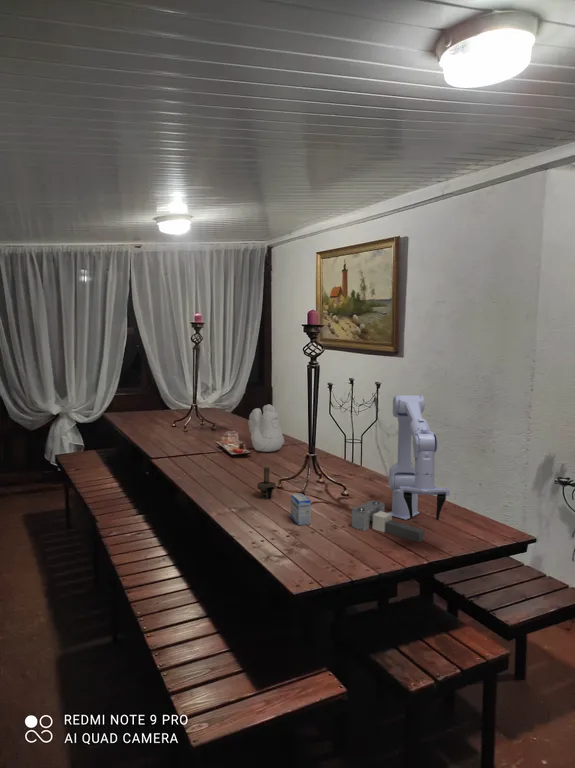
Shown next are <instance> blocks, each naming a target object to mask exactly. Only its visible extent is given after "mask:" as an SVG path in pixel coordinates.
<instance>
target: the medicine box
mask: <svg viewBox="0 0 575 768" xmlns="http://www.w3.org/2000/svg"><path fill="white" fill-rule="evenodd" d="M311 506H312V501H311V500H310V498H308V497H307V496H306V495H304V494H303V493H294V494H293V493H292V494H291V496H290V519H291V520H292V519H293V520H294V521H295V522H294V521H293V520H292V521H293V522H294V523H295V524H296V525H298V526H299V525H301V526H308V524H309V525H310V524H311V513H312V512H311V510H312V507H311Z"/></svg>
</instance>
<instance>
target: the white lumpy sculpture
mask: <svg viewBox="0 0 575 768" xmlns="http://www.w3.org/2000/svg"><path fill="white" fill-rule="evenodd" d="M262 412H263V413H262ZM247 423H248V428H249V433H250V434H251V435H250V440H251V443H252V446H253V448H254V449H255V450H256V451H258V452H263V453H264V452H268V453H269V452H275V451H278V450H280V449H281V448H282V446H283V445H284V444H285V438H284V435H283V431H282V428H281V425H280V416H279V413H278V411H277V410H276V408H275V406H273V405H272V404H269V403H268V404H266V405H264V406H263V407H262V410H261V408H259V407H258V408H257V407H256V408H254V409H253V410H252V411H251V412H250V414H249V417H248V422H247Z"/></svg>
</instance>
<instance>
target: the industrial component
mask: <svg viewBox="0 0 575 768" xmlns="http://www.w3.org/2000/svg"><path fill="white" fill-rule="evenodd" d="M256 485H257V487H256V488H257V489H258V490H259V491H260V498H261V499H263V498H264V500H268V499H270V498H272V499H273V498H274V497H273V492H274V491H275V490H276V489H277V484H276V483H275V482H273V481H270V466H264V467H263V481H261V482H258V483H257V484H256Z"/></svg>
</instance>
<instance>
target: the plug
mask: <svg viewBox="0 0 575 768" xmlns="http://www.w3.org/2000/svg"><path fill="white" fill-rule="evenodd" d="M392 518H393V516H392V514H389V513H388V512H382V511H380V512H377V513H375V514H373V522H372V530H375V531H379V532H381V533H387V534H391V535H393V536H397V537H399V538H403V539H406V540H409V541H413V542H415V541H416V542H415V543H418V542H419V543H421V542H422V540H423V541H424V540H425V530H424V529H422V528H419V527H415V526H412V525H408V524H405V523H402V522H398V521H395V520H393V519H392Z"/></svg>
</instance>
